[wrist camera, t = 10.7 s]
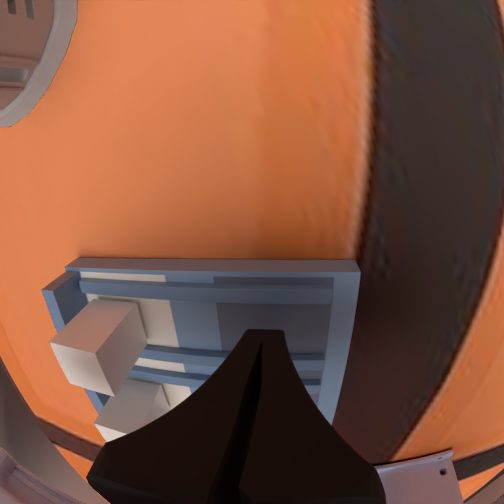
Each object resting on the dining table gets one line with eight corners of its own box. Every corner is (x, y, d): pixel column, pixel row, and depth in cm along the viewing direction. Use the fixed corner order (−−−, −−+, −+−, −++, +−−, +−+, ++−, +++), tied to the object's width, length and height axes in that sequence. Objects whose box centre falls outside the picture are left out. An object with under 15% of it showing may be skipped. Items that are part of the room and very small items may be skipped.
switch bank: (354, 259, 11) (374, 299, 8) (328, 414, 15) (331, 458, 12) (78, 257, 13) (38, 285, 10) (126, 395, 17) (107, 429, 14)
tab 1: (136, 302, 12) (94, 353, 8) (147, 343, 12) (114, 396, 9) (93, 298, 12) (49, 342, 9) (106, 337, 13) (69, 383, 9)
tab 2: (160, 385, 13) (136, 436, 10) (170, 410, 14) (150, 459, 11) (122, 377, 14) (93, 423, 10) (133, 403, 14) (110, 447, 11)
